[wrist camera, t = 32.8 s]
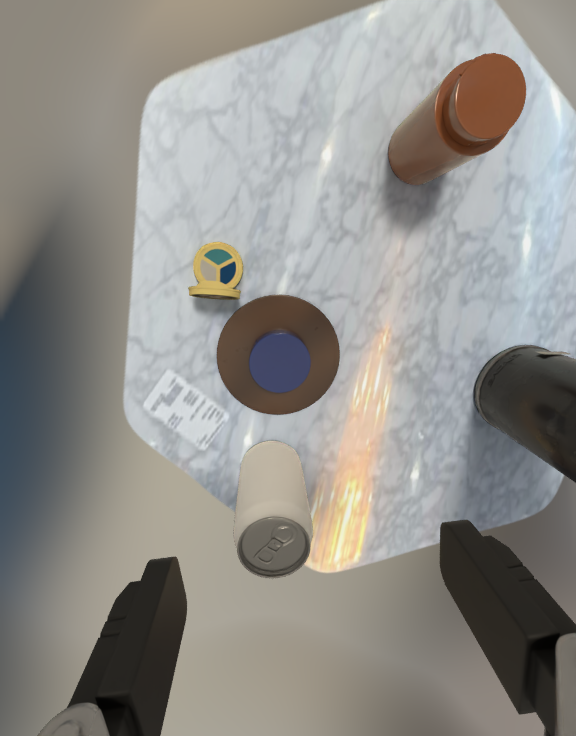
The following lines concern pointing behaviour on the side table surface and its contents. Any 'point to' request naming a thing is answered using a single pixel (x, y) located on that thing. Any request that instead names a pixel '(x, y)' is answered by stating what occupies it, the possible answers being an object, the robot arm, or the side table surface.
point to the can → (272, 511)
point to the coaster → (269, 317)
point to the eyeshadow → (217, 272)
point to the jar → (459, 119)
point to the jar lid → (279, 361)
